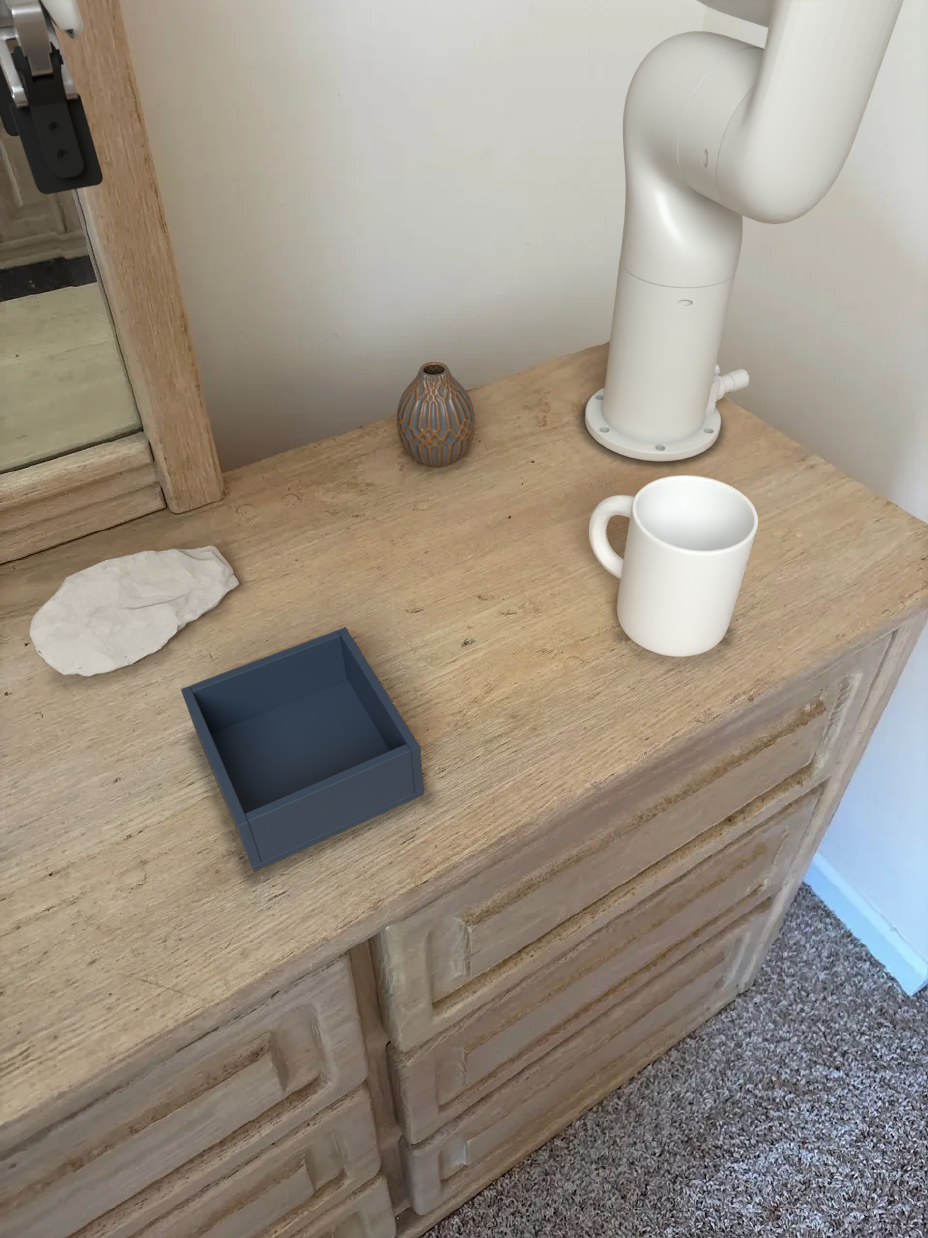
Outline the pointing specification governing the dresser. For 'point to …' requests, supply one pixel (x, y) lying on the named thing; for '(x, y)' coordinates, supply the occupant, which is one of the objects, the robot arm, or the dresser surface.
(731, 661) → the dresser surface
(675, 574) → the mug
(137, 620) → the stone tool
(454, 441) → the vase
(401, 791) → the bin
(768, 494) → the dresser surface
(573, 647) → the dresser surface
